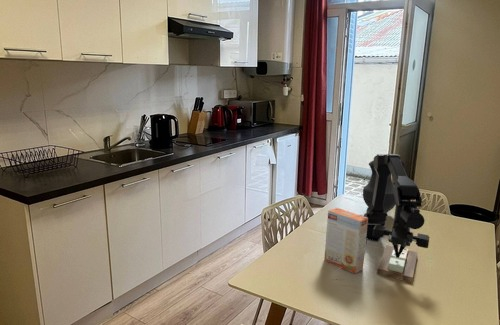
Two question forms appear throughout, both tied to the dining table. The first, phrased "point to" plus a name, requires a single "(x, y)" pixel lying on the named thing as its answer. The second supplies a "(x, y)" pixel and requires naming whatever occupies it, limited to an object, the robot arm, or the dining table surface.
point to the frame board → (408, 267)
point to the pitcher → (389, 195)
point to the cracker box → (346, 239)
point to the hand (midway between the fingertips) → (397, 257)
